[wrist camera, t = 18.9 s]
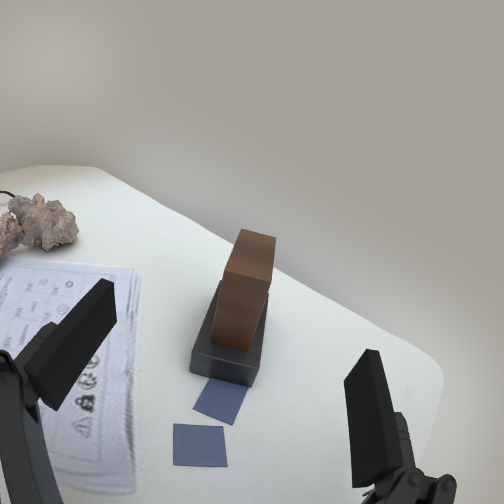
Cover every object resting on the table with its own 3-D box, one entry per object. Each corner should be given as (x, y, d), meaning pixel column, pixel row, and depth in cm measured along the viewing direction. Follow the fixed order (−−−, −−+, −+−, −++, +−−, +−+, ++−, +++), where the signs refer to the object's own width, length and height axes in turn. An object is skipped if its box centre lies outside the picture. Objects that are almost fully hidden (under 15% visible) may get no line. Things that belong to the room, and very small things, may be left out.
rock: (-17, 252, 23) (-26, 200, 20) (73, 231, 33) (72, 181, 30) (-18, 277, 20) (-31, 219, 17) (84, 251, 30) (83, 195, 27)
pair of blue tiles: (232, 479, 13) (232, 479, 13) (159, 459, 13) (159, 459, 13) (255, 343, 25) (256, 343, 25) (205, 330, 25) (205, 330, 25)
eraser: (251, 388, 20) (286, 300, 16) (188, 371, 20) (202, 277, 16) (262, 311, 29) (287, 233, 25) (216, 299, 29) (233, 219, 25)
